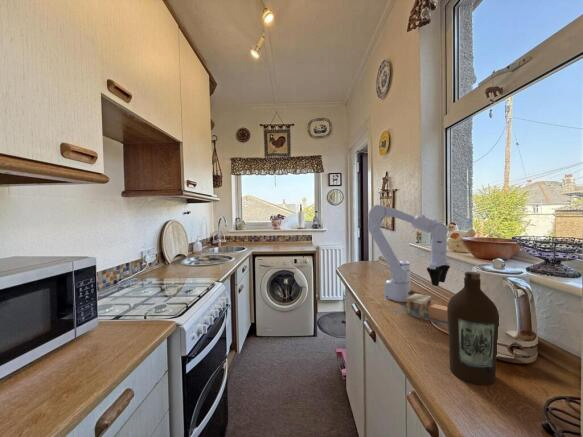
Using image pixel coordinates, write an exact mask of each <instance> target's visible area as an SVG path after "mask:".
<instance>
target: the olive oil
mask: <svg viewBox="0 0 583 437" xmlns="http://www.w3.org/2000/svg"><path fill="white" fill-rule="evenodd" d="M480 277H481V273H479V272H475V271H465V272H464V278H463V285H464V286H463V288H461V289H460V290H458V292H456V293H455V294H453V296H452V297H450V299H449V301H448V304H447V306H446V307H447V315H448V325H447V327H448V329H447V332H448V346H449V347H448V348H449V352H448V353H449V356H448V357H449V369H450V372H451V373H452V374H453V375H454V376H456V377H457V378H459V379H461V381H462V380H463V381H465V382H467V383H471V384H474V385H480V386H489V385H491V384H494V383H495V381H496V375H497V374H496V373H497V357H496V355H497V340H498V327H499V316H500V315H499V310H498V308H497V306H496V304H495V303H494V302H493V301H492V299H491V298H490V297H489V296H487V294H486V293H485V292H483V290H482V288H481V283H482V282H481V281H482V280H481V278H480Z"/></svg>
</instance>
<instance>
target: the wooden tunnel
mask: <svg viewBox="0 0 583 437" xmlns="http://www.w3.org/2000/svg"><path fill="white" fill-rule="evenodd" d="M405 303H406V304H405V305H406V306H405V307H406V308H405V309H406V310H405V311H406V312H405V313H406V314H409V315H410V314H411V309H412V303H413V307H414V309H418V308H420V317H421V318H424V310H425V304H426V310H427V312H428V306H430V305H431V304H432V296H430V295H426V294H420V293H416V292H415V293H413V294H411V295H410V296H409V295H408V298H406V302H405ZM406 314H405V315H406ZM409 315H408V316H409ZM421 318H420V319H421Z"/></svg>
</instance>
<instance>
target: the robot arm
mask: <svg viewBox="0 0 583 437" xmlns="http://www.w3.org/2000/svg"><path fill="white" fill-rule="evenodd" d="M391 217H393V218H395V219H399V220H401V221H405V222H408V223H410V224H411V225H412V227H413V228H415V229H416V230H419V231H422V232H425V233H427V234H429V233H431V240H430V261H429V262H430V263H429V266H428V267H426V271H427V273H428V275H429V277H430V281H431V285H432V286H435V287H438V286H439V285H440V283H445V282H446V279H447V274H448V271H449V270H450V268H451V265H450V264H451V263H450V262H448V261H447V260H448V259H447V247H448V246H447V234H448V231H449V230H448V228H447V226H446V225H445V224H444V223H442V222H440V221H437V219H431V218H429V217H426V215H425V214H422V215H420V214H418V215H415V216H414V215H411V214H409V213H406V212H403V211H401V210H399V209H397V208H393V207H388V206H383V205H380V204H376V205H373V206H372V207H371V208H370V210H369V212H368V222H367V230H368V231H369V233H370V235H371V237H372V238H373V239H374V242H375V243H376V245H377V247H378V249H379V252H380V253H381V254H382V256H383V258H384V260H385V261H386V264H387V266H388V269H389V271H390V273H391V278H390V279H387V280H385V283H384V299H383V301H386V300H392V301H395V302H402V303H403V302H405V303H406V298H408V297H409V292H408V280H407V269H406V267H405V266H403V265H402V264H401V263H400V261H401V260H399V259H398V257H397V255H396V253H395V252H394V250H393V248H392V246H391V245H390V243H389V241H388V239H387V238H386V236H385V234H384V233H383V231H382V229H381V228H380V227H381V225H382V221H383V220H384V218H391Z"/></svg>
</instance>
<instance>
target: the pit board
mask: <svg viewBox="0 0 583 437" xmlns="http://www.w3.org/2000/svg"><path fill="white" fill-rule="evenodd" d="M403 307H406V304H402V305H401V306H399V307H397V308H396V309H394V310H393V312H395V313H398V314H402V315H407V316H409V317H414V318H418V319H421V320H426V321H429V322H432V323H437V324H441V325H444V326H448V322H446V321H442V320H438V319H434V318H430V317H428V312H427V309H424V318H421V317H420V307H418V309H414V306H411V314H410V315H409V314H406V312H401V311H398V310H399V309H400V310H403V311H406V308H403Z"/></svg>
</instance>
